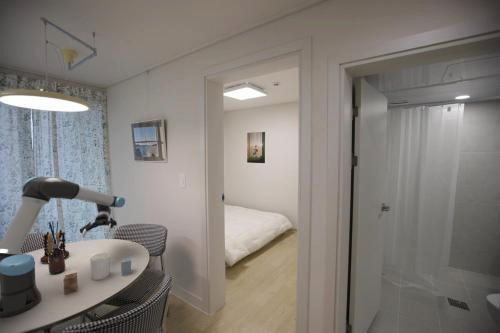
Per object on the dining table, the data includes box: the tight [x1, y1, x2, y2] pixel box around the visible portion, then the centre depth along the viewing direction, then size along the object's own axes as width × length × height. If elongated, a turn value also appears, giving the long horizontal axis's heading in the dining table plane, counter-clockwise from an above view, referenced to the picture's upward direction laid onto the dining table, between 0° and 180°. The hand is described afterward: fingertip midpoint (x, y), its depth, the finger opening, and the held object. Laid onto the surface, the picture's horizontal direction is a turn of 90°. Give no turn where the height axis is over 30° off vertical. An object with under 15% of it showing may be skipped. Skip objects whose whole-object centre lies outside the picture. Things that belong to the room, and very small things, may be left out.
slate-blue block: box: [120, 257, 132, 276], centre depth 133 cm, size 5×5×8 cm
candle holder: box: [89, 252, 111, 281], centre depth 129 cm, size 10×10×12 cm
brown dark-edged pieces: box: [40, 229, 70, 265], centre depth 149 cm, size 15×15×20 cm
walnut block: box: [63, 272, 78, 295], centre depth 116 cm, size 5×5×8 cm
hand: (96, 232), depth 134 cm, fingers open, 13 cm apart
